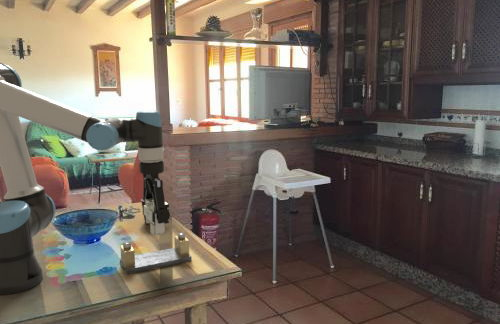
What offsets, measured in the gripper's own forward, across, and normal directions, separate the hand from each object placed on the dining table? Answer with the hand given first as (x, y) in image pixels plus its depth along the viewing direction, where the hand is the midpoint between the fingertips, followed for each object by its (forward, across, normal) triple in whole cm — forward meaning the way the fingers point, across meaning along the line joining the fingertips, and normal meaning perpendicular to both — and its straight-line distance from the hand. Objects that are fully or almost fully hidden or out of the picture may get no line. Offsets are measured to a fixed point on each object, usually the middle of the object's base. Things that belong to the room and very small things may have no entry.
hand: (155, 227), depth 139 cm
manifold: (+12, 0, 0) cm, 12 cm away
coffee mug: (+12, +40, -9) cm, 43 cm away
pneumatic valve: (+2, 0, 0) cm, 2 cm away
